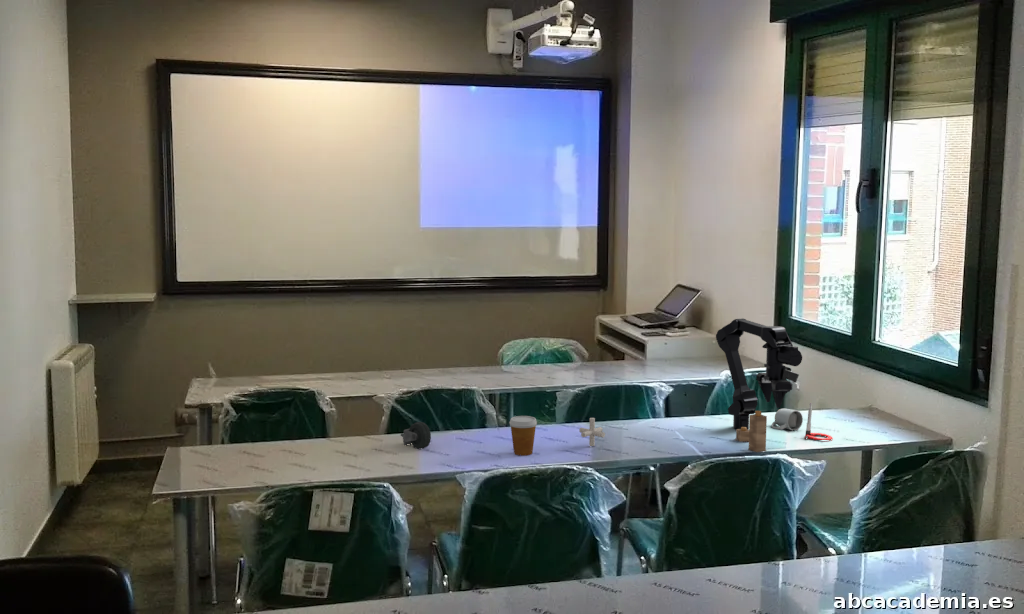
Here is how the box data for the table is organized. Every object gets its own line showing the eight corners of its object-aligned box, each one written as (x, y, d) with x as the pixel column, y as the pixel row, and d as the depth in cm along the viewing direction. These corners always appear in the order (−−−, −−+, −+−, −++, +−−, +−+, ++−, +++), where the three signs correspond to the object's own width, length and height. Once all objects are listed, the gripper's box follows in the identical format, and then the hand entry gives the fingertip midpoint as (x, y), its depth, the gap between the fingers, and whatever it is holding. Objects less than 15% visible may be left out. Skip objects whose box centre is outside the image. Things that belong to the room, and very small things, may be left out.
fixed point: (736, 438, 318) (736, 426, 317) (746, 438, 318) (747, 426, 317) (740, 441, 314) (740, 429, 313) (751, 441, 314) (751, 428, 313)
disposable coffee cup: (505, 451, 304) (504, 417, 303) (530, 448, 308) (530, 414, 307) (516, 458, 296) (516, 423, 294) (541, 455, 299) (541, 420, 298)
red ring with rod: (833, 438, 323) (806, 434, 327) (836, 403, 321) (809, 400, 325) (831, 443, 315) (804, 439, 319) (834, 408, 313) (807, 405, 317)
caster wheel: (433, 451, 308) (407, 439, 318) (434, 425, 306) (409, 413, 317) (420, 454, 304) (394, 442, 315) (421, 427, 302) (396, 416, 313)
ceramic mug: (787, 424, 340) (787, 405, 339) (803, 429, 333) (803, 409, 332) (766, 428, 336) (766, 408, 335) (781, 433, 328) (782, 413, 327)
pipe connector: (571, 446, 310) (572, 418, 309) (589, 441, 317) (589, 413, 316) (594, 451, 303) (594, 423, 302) (611, 446, 310) (612, 418, 309)
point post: (748, 449, 304) (749, 410, 302) (757, 447, 306) (759, 409, 304) (756, 452, 300) (757, 413, 299) (765, 450, 302) (766, 412, 300)
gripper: (807, 366, 306) (806, 410, 308) (785, 357, 325) (784, 398, 326) (776, 366, 305) (775, 411, 307) (756, 357, 324) (755, 399, 325)
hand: (773, 404), depth 316 cm, fingers open, 9 cm apart
